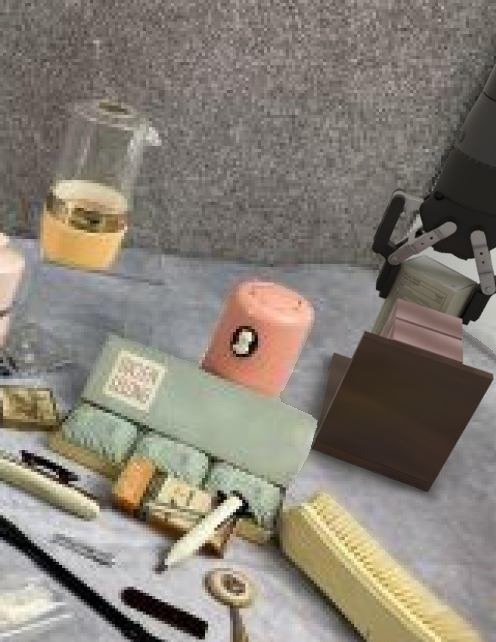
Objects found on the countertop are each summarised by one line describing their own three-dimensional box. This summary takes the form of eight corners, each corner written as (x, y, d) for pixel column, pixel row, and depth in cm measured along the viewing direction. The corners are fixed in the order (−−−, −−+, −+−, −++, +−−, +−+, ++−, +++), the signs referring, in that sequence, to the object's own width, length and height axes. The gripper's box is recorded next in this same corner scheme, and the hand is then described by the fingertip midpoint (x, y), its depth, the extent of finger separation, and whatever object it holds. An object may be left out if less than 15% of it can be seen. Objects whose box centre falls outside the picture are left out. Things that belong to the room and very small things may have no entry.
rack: (330, 359, 103) (376, 256, 96) (431, 394, 101) (487, 291, 93) (311, 448, 89) (363, 335, 82) (428, 492, 86) (493, 379, 79)
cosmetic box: (428, 384, 97) (482, 283, 90) (403, 395, 94) (457, 292, 87) (377, 351, 100) (426, 252, 93) (353, 361, 98) (401, 260, 91)
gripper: (579, 162, 85) (495, 315, 94) (419, 117, 88) (353, 269, 97) (589, 190, 79) (498, 350, 88) (416, 140, 82) (346, 300, 91)
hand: (422, 307), depth 93 cm, fingers closed on cosmetic box, 7 cm apart
